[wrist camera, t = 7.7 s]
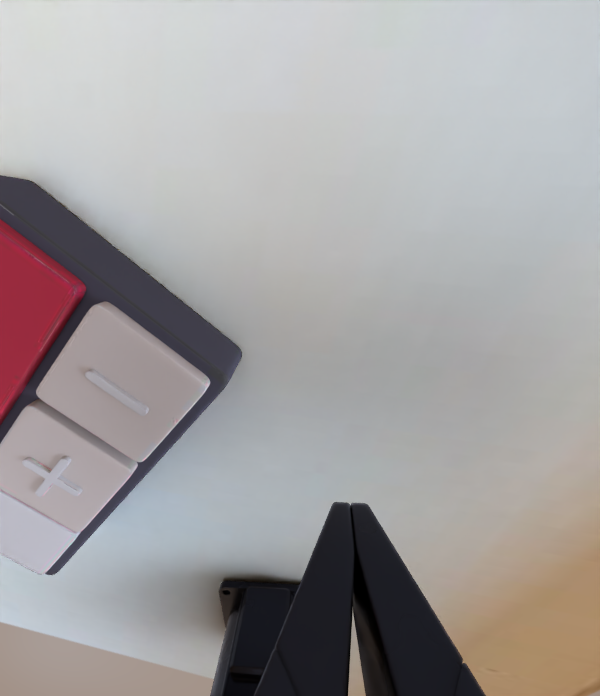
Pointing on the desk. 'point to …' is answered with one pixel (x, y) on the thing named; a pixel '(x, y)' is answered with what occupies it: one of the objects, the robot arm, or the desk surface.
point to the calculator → (86, 376)
